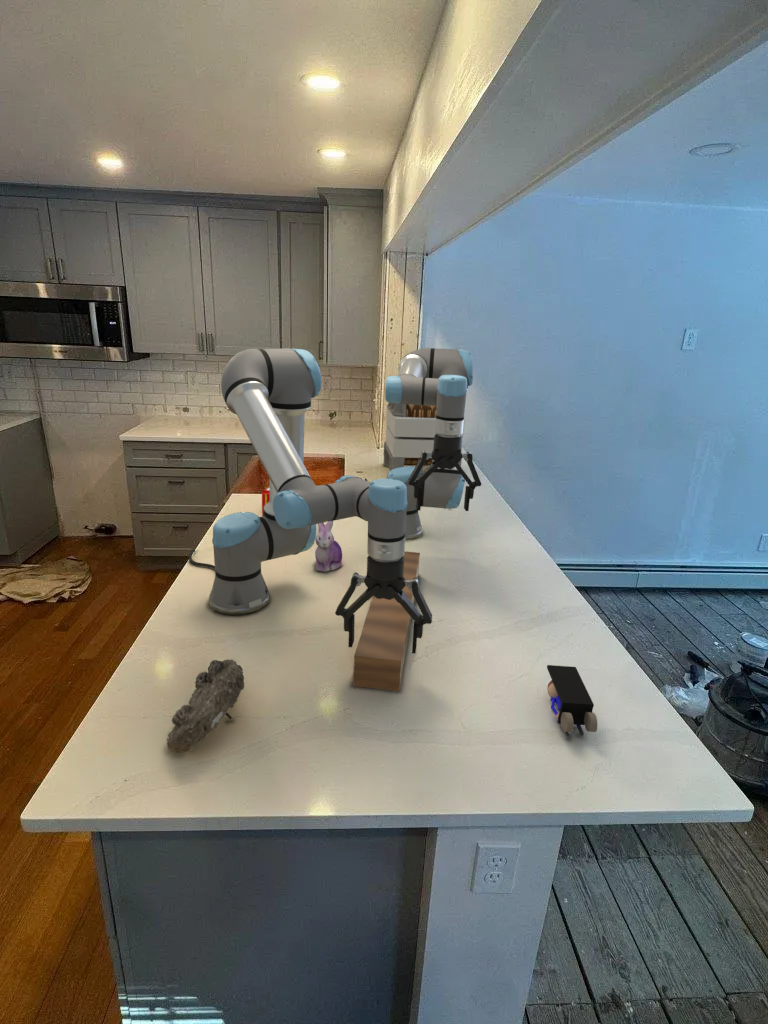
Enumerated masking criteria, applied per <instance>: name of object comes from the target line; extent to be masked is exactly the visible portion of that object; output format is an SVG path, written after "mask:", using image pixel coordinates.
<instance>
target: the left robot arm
mask: <svg viewBox="0 0 768 1024" xmlns="http://www.w3.org/2000/svg"><path fill="white" fill-rule="evenodd" d="M322 381H323V380H322V374H321V369H320V366H319V363H318V362H317V360H316V357H315V356H314V355H313V354H312V353H311V352H309V351H308V350H306V349H301V348H293V347H292V348H291V347H287V348H286V347H283V348H248V349H244V350H241V351H239V352H238V353H236V354H234V355H233V356H232V357H230V360H229V361H228V362H227V363H226V365H225V367H224V369H223V372H222V374H221V380H220V389H221V394H222V399H223V400H224V403H225V405H226V407H227V408H228V410H229V411H230V412H231V413H232V414H234V415H236V416H237V418H238V420H239V423H240V424H241V425H242V427H243V429H244V431H245V434H246V435H247V438H248V440H249V441H250V443H251V446H252V447H253V448H254V451H255V453H256V455H257V457H258V458H259V461H260V462H261V465H262V467H263V468H264V470H265V472H266V475H267V476H268V479H269V487H270V501H269V502H268V503H267V504H266V505H265V506H264V516H262V515H261V516H259V515H258V514H256V513H254V512H251V511H245V512H242V511H239V512H234V513H230V514H227V515H224V516H222V517H221V518H219V519H218V520H217V521H216V522H215V523H214V525H213V526H212V540H211V541H212V542H211V543H212V547H213V548H212V549H213V561H214V564H210V563H204V562H198V561H195V560H194V559H193V554H194V553H195V552H196V548H195V547H194V548H191V549H190V551H189V554H188V561H189V563H190V564H191V565H195V566H198V567H205V568H206V567H207V568H211V569H213V570H214V580H213V583H212V584H213V585H212V588H211V590H210V592H209V596H208V598H209V606H210V608H211V609H212V610H214V611H215V612H217V613H219V614H223V615H227V616H242V615H243V616H244V615H248V614H252V613H255V612H258V611H260V610H262V609H263V608H265V607H266V606H267V605H268V603H269V601H270V591H269V589H268V586H267V584H266V581H265V578H264V576H263V574H262V563H263V562H266V561H267V562H268V561H271V560H275V559H279V558H284V557H287V556H292V555H293V556H295V555H299V554H300V553H304V552H306V551H308V550H310V549H311V548H312V547H313V545H314V544H315V542H316V541H315V539H316V536H317V530H318V529H317V525H318V524H319V523H327V522H328V521H333V522H335V521H340V520H344V519H349V518H353V517H357V518H359V519H361V520H363V521H365V522H367V545H366V546H367V550H366V552H367V557H366V575H360V574H359V573H358V572H354V573H353V574H352V576H351V578H350V585H349V586H348V588H347V590H346V592H345V593H344V594H343V597H342V599H341V600H340V602H339V604H338V605H337V607H336V608H335V613H334V614H335V616H337V617H339V616H340V617H342V618H343V631H344V632H348V648H353V646H354V643H355V622H356V621H355V619H356V618H355V615H356V614H355V613H357V611H358V610H359V609H360V608H361V607H363V606H364V605H365V604H366V602H367V601H369V600H371V599H372V597H373V596H374V597H376V598H377V599H382V598H385V599H388V600H391V599H393V598H395V600H396V601H397V602H398V603H400V604H401V605H402V607H403V608H404V609H405V610H406V611H407V613H408V614H409V615H410V616H411V620H413V629H412V647H411V654H415V655H416V653H417V646H418V644H417V643H418V639H422V638H423V632H424V625H427V624H428V625H431V624H432V622H433V614H432V612H431V609H430V608H429V605H428V603H427V601H426V599H425V597H424V595H423V593H422V591H421V588H420V583H419V582H420V581H419V577H418V578H417V577H414V578H413V580H405V579H404V575H403V574H404V557H403V556H404V553H405V552H406V551H405V550H406V540H405V530H406V512H407V505H408V502H407V487H406V485H405V484H404V483H403V482H402V481H399V480H393V479H387V477H386V478H377V479H373V480H372V481H371V482H370V481H368V480H367V481H365V478H364V479H363V478H362V477H358V476H354V475H343V476H340V477H339V478H338V479H336V480H335V481H334V483H327V484H320V485H319V484H318V485H316V483H315V482H314V481H313V479H312V477H311V475H310V474H309V471H308V470H307V468H306V465H304V463H305V461H304V459H305V455H304V454H305V419H306V418H305V417H306V416H305V415H306V413H307V412H308V411H309V410H310V409H311V408H312V399H314V398H315V397H318V395H319V394H320V391H321V390H322ZM363 583H364V585H365V587H366V589H365V591H363V593H362V594H361V595H359V596H358V598H356V599H355V601H353V602H352V603H351V605H349V606H347V604H348V603H349V601H350V599H351V597H352V596H353V594H354V593H355V591H356V589H357V587H360V586H361V585H362V584H363ZM405 586H407V587H408V588H409V590H410V591H412V593H413V596H414V598H415V599H414V601H415V602H416V604H417V607H418V608H419V609H418V608H417V607H416V606H415V605H413V604H412V602H411V601H410V600H409V599H408V597H407V596H406V595H405V593H404V591H403V590H402V589H403V588H404V587H405ZM346 606H347V607H346Z"/></svg>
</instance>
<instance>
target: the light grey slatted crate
mask: <svg viewBox="0 0 768 1024" xmlns="http://www.w3.org/2000/svg"><path fill="white" fill-rule="evenodd" d="M387 403H388V402H387ZM436 410H437V406H429V405H413V404H396V403H388V404H387V405H386V413H385V414H386V415H385V423H386V428H385V438H384V442H383V466H384V467H388V468H389V472H390V471H391V470H393V469H395V468H399V467H405V466H406V467H416V465H417V463H418V461H419V460H420V457H421V452H422V451H425V452H429V453H432V451H433V447H434V436H435V421H436ZM464 429H465V419H464V423H463V434H462V435H460V436H462V439H463V438H464V431H465V430H464ZM463 442H464V441H463V440H462V444H463ZM461 453H463V446H462V447H461ZM462 459H463V458H462ZM462 459H461V460H460V461H459V463H458V464H459V465H460V467H461V468H462V461H463V460H462ZM432 462H433V459H432V457H430V458H429V459H428V460H426V462H425V464H424V466H423V467H429V466H430V464H431V463H432Z"/></svg>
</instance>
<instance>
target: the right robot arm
mask: <svg viewBox="0 0 768 1024" xmlns="http://www.w3.org/2000/svg"><path fill="white" fill-rule="evenodd" d="M473 366H474V364H473V355H472V353H471V352H470V351H469V350H466V349H459V348H437V347H435V348H434V347H423V348H418V349H414V350H412V351H410V352H409V353H406V354H405V355H404V356H403V357H401V360H400V361H399V364H398V367H397V369H398V374H397V375H388V376H387V378H386V379H385V385H384V386H385V388H384V398H385V401H386V403H396V404H413V405H429V406H437V410H436V421H435V436H434V447H433V451H432V453H429V452H425V451H422V452H421V457H420V460H419V461H418V463H417V465H416V466H404V467H399V468H395V469H393V470H391V471H390V470H389V471H388V473H387V475H386V478H387V479H393V480H399V481H402V482H403V483H404V484H405V485H406V487H407V502H408V505H407V512H406V530H405V541H410V540H415V539H418V538H420V537H421V536H422V535H423V525H422V524H421V518H420V515H419V511H421V508H422V507H423V508H433V509H444V510H447V509H449V508H450V509H452V510H453V509H458V508H459V507H460V504H461V501H462V498H463V493H464V501H463V509H464V511H465V512H469V511H470V510H469V509H470V500H473V499H474V495H475V489H476V488H477V487H481V486H482V482H481V479H480V476H479V473H478V471H477V469H476V467H475V464H474V462H473V459H474V458H473V454H472V453H471V451H466V452H462V453H461V447H462V448H463V443H462V441H463V438H462V436H460V435H462V434H463V435H464V432H463V423H464V424H465V421H464V420H465V411H466V400H467V393H468V391H469V387H471V386H472V385H473V384H474V369H473V368H474V367H473ZM430 457H432V459H433V462H432V463H431V464H430V466H429V465H428V466H427V468H426V469H425V470H424V471H423V472H422V470H423V467H425V466H424V464H425V462H426V460H428V459H429V458H430ZM461 459H463V460H464V461H465V462H466V463H467V466H468V468H469V471H470V473H471V476H472V477H473V480H474V481H472V480H471V479H470V477H469V476H468V474H467V473H466V472H465V470H464V469H463V468H462V466H461V467H460V465H459V464H458V463H459V461H460V460H461ZM364 480H365V481H368V480H367V478H365V477H364ZM465 482H466V483H467V485H465ZM464 488H465V490H464Z"/></svg>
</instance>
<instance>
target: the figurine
mask: <svg viewBox="0 0 768 1024" xmlns="http://www.w3.org/2000/svg"><path fill="white" fill-rule="evenodd" d="M333 526H334V521H328V522H326V524H325V522H323V523H319V524H317V528H318V529H317V530H318V532H317V533H316V538H315V541H314V542H315V544H316V545H317V547H316V548H315V552H314V556H315V563H314V565H315V570H316V571H320V572H329V571H335V570H337V569H338V568H340V567H341V566H342V562H343V549H342V546H341V545H340V543H339V542H338V541H336V540H335V536H334V535H333V533H332V529H333Z"/></svg>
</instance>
